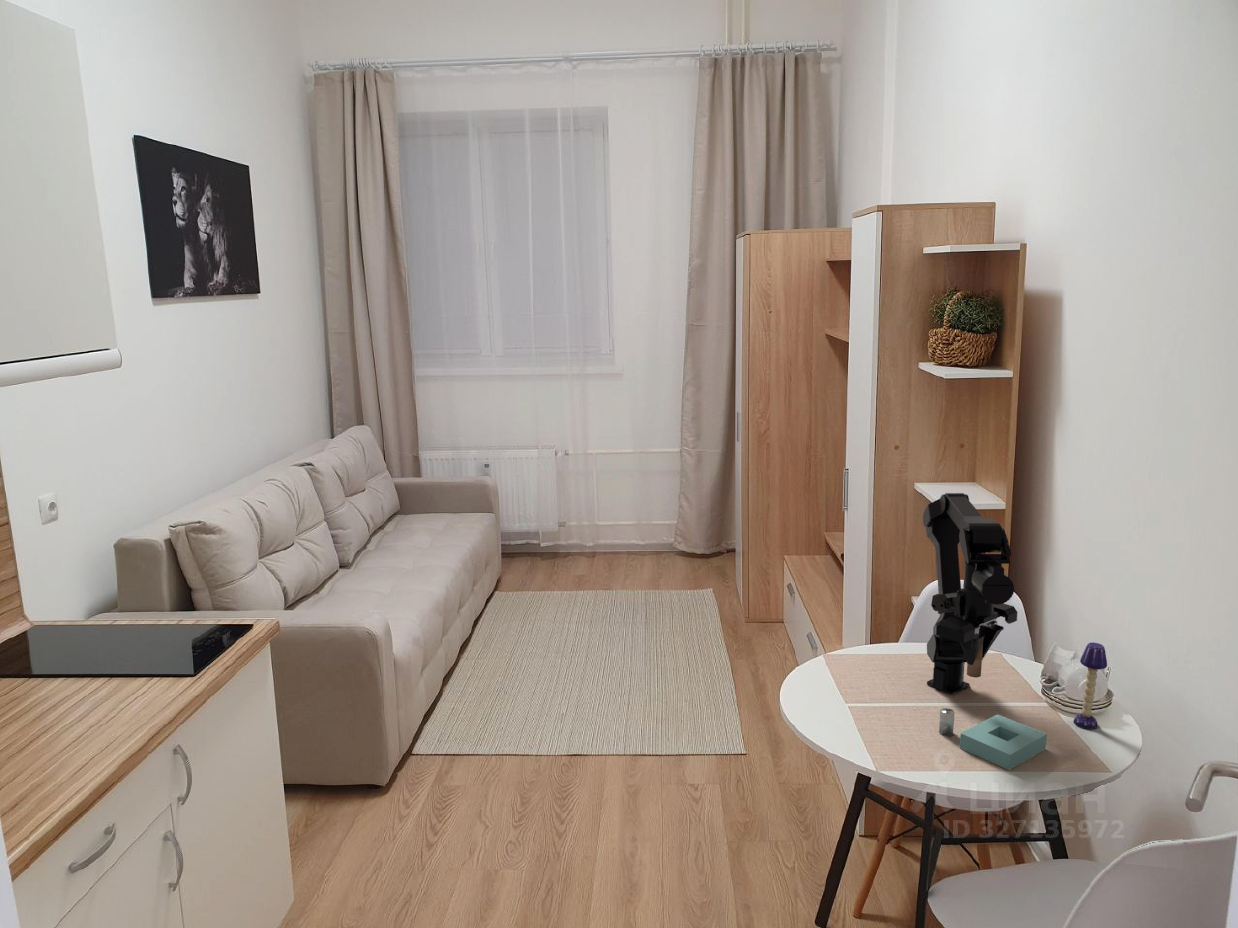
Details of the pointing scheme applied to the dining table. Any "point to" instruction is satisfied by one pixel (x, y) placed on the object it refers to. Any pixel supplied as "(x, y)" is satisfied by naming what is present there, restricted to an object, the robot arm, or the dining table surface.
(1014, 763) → the collar block
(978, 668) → the walnut dowel
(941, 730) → the grey stub
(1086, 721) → the toy lamp
